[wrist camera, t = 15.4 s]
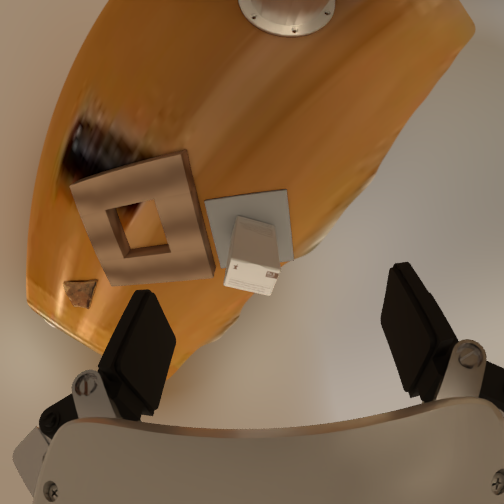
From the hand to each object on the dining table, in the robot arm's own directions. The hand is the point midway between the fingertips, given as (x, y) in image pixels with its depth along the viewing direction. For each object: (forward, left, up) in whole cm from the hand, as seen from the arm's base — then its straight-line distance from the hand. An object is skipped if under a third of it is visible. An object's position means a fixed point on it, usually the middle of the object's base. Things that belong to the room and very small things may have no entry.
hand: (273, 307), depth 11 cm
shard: (+20, -43, -31) cm, 57 cm away
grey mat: (+12, -4, -30) cm, 33 cm away
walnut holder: (+8, -21, -30) cm, 38 cm away
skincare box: (+12, -4, -30) cm, 32 cm away
